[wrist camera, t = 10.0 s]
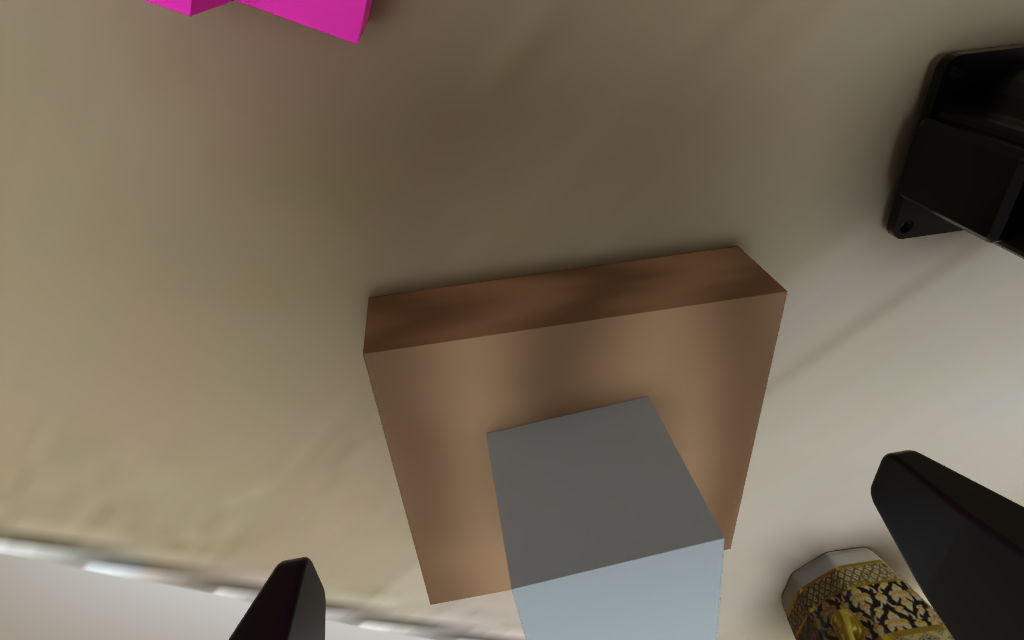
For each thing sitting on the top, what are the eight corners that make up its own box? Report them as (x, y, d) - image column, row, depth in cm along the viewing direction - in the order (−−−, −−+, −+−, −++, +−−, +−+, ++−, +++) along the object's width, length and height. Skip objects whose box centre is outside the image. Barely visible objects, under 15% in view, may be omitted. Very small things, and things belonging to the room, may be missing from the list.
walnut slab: (731, 240, 23) (787, 291, 19) (694, 482, 30) (730, 548, 27) (369, 290, 21) (363, 354, 18) (427, 529, 29) (430, 604, 26)
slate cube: (648, 396, 21) (724, 538, 16) (652, 502, 24) (716, 646, 19) (485, 433, 21) (511, 589, 16) (512, 535, 24) (540, 689, 19)
